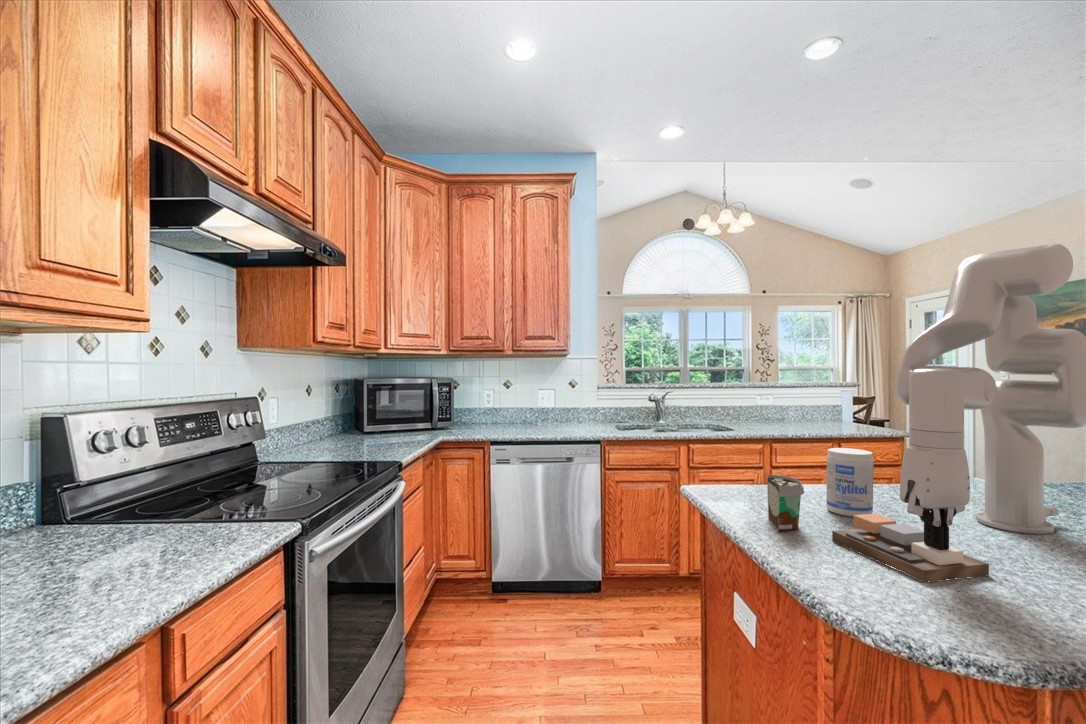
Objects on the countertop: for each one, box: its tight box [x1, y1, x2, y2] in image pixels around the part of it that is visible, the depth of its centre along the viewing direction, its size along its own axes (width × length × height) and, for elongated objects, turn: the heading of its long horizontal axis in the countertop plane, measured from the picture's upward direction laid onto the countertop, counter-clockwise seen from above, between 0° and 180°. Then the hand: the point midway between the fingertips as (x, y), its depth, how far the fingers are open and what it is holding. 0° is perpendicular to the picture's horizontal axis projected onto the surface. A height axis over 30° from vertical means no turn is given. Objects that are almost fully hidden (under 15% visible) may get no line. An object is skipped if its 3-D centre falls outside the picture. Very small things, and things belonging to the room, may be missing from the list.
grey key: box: [880, 522, 924, 545], centre depth 95 cm, size 5×5×2 cm
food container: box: [766, 474, 805, 534], centre depth 113 cm, size 12×6×10 cm, turn 168°
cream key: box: [912, 542, 964, 565], centre depth 88 cm, size 5×5×2 cm
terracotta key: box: [852, 513, 897, 533], centre depth 101 cm, size 5×5×2 cm
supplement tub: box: [825, 447, 874, 518], centre depth 123 cm, size 10×10×15 cm
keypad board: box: [831, 528, 990, 583], centre depth 95 cm, size 13×20×3 cm, turn 11°
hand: (936, 546), depth 88 cm, fingers closed
